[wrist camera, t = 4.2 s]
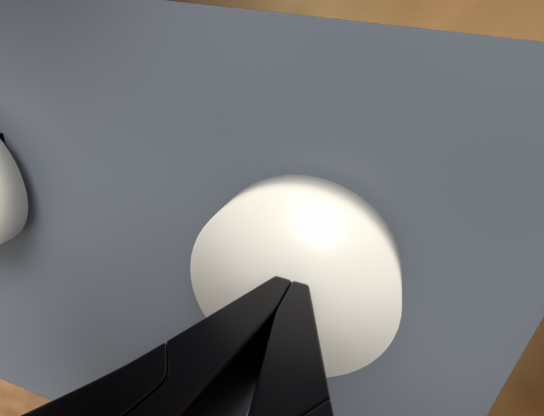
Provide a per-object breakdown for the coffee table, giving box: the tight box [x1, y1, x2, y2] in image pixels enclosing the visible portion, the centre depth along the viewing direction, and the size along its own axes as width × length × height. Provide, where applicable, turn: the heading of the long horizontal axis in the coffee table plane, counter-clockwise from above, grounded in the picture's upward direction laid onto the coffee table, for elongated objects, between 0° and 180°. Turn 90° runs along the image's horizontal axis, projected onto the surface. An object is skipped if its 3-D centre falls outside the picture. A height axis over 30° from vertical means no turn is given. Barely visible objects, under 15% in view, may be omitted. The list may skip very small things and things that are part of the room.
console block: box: [0, 0, 544, 416], centre depth 15 cm, size 24×18×5 cm
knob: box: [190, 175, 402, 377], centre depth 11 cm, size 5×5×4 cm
